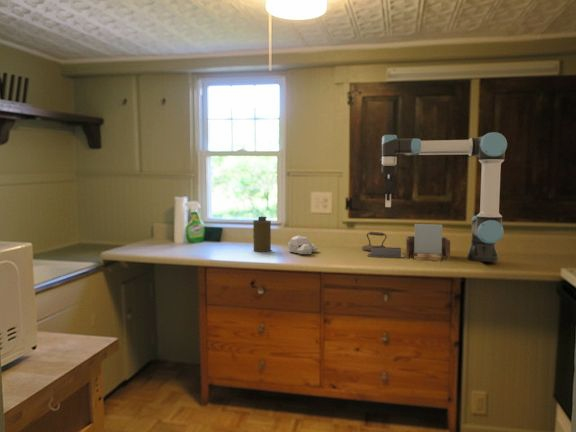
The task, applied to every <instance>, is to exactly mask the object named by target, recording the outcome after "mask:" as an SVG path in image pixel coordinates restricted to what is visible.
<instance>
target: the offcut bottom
mask: <svg viewBox="0 0 576 432" xmlns="http://www.w3.org/2000/svg"><path fill="white" fill-rule="evenodd" d="M413 260H416V261H429V260H428V259H415V258H413ZM434 261H439V262H443V259H441V260H434Z"/></svg>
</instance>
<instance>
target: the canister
mask: <svg viewBox="0 0 576 432" xmlns="http://www.w3.org/2000/svg"><path fill="white" fill-rule="evenodd" d="M267 218H268V217H267V216H259V217H258V219H257V220H255V219H254V220H253V221H252V222H253V226H252V227H253V228H252V229H253V232H252V233H253V252H259V253H260V252H263V253H264V252H270V251H272V248H271V247H272V245H271V242H272V241H271V240H272V236H271V230H272V229H271V228H272V227H271V225H272V224H271V223H272V221H271V220H267Z"/></svg>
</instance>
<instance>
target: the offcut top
mask: <svg viewBox="0 0 576 432" xmlns="http://www.w3.org/2000/svg"><path fill="white" fill-rule="evenodd" d="M441 256H442V255H441V254H422V253H417V257H437V258H441Z"/></svg>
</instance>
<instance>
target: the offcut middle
mask: <svg viewBox="0 0 576 432" xmlns="http://www.w3.org/2000/svg"><path fill="white" fill-rule="evenodd" d="M414 258H415V259H428V260H427V261H435V260H441V258H437V257H417V256H416V255H414ZM414 258H413V259H414ZM415 259H414V260H415Z"/></svg>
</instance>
